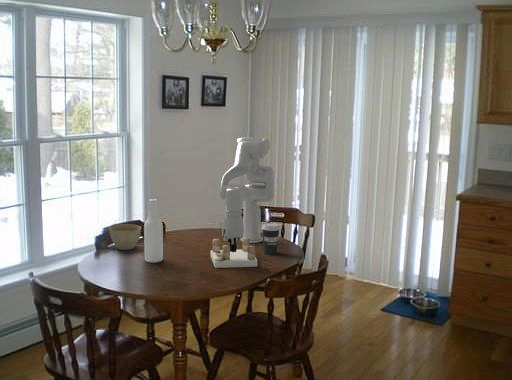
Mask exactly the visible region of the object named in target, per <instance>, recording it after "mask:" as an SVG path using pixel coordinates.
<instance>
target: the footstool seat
mask: <svg viewBox="0 0 512 380" xmlns="http://www.w3.org/2000/svg"><path fill="white" fill-rule="evenodd" d="M220 253H222V249H220ZM210 258H211V261H212V263H213V266H214V268H215V269H218V268H219V269H220V268H223V269H224V268H225V269H227V268H249V267H250V268H251V267H258V259H257V258H256V256H255V260H248V259H247V258H248V252H245V251H242V248H241V249H236V252H231V251H230V259H222V258H221V257H219V256H216V253H215V252H213V249H211V250H210Z"/></svg>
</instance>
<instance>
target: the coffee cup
mask: <svg viewBox="0 0 512 380" xmlns="http://www.w3.org/2000/svg"><path fill="white" fill-rule="evenodd" d="M261 230H262V238H263V241H262V243H263V253H264V255H267V256H275V255H277V253H278V243H279V235H280V230H281V226H280V224H279V223H274V222H266V223H263V225H262V227H261ZM274 254H275V255H274Z"/></svg>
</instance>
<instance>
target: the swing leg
mask: <svg viewBox="0 0 512 380" xmlns="http://www.w3.org/2000/svg"><path fill="white" fill-rule="evenodd" d="M221 250H222V253H220V251H216V256H219V257H221V258H222V259H230V244H229V245H228V244H224V245H222V249H221Z"/></svg>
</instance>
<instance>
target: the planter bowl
mask: <svg viewBox="0 0 512 380" xmlns="http://www.w3.org/2000/svg"><path fill="white" fill-rule="evenodd" d="M141 233H142V227H141V226H140V225H138V224H126V223H125V224H115V225H112V226H109V235H110V238H111V241H112V243H113V244H114V245H115V248H116V249H117V250H120V251H121V250H122V251H127V250H133V249H135V247H136V245H137V244H138V242H139V240H140V237H141Z"/></svg>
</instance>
